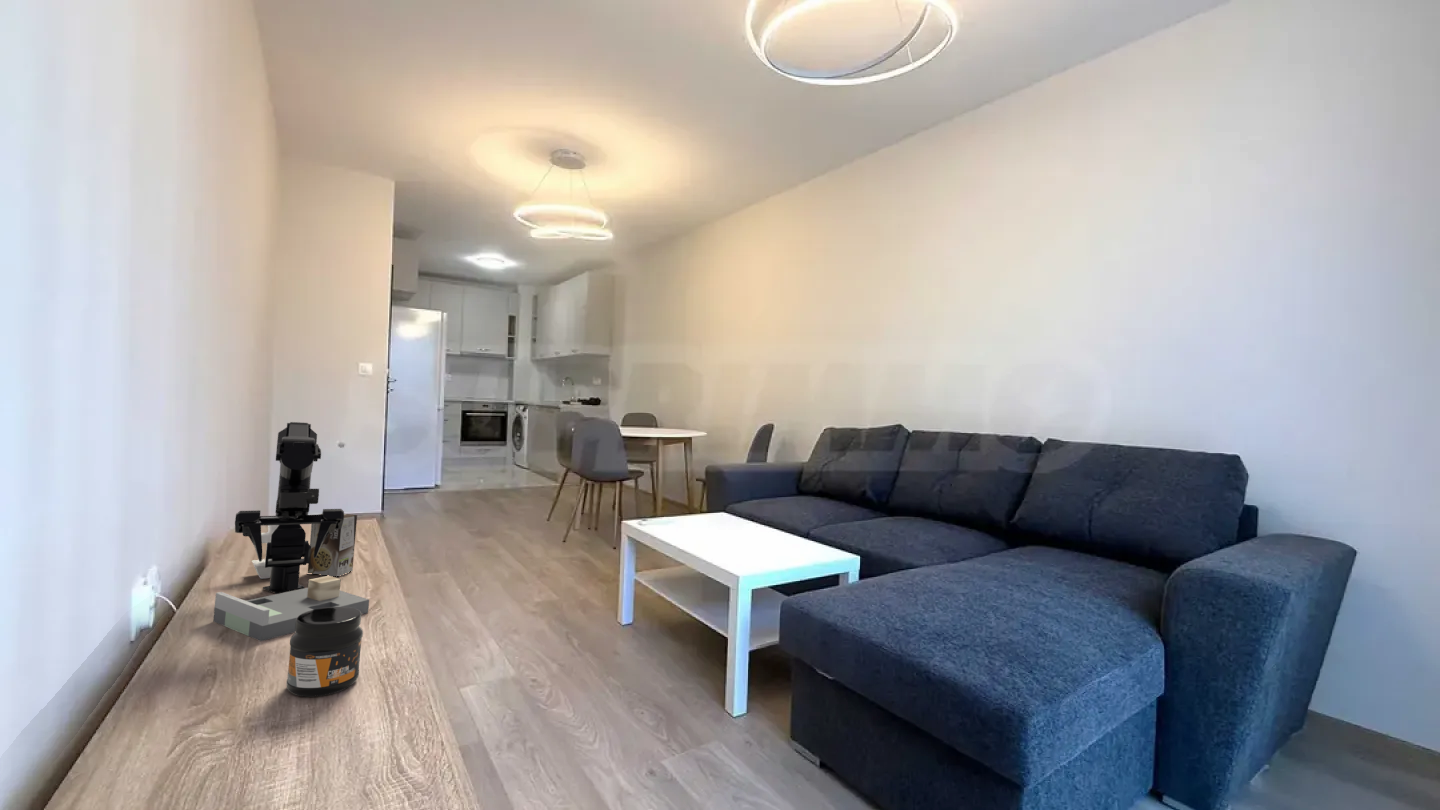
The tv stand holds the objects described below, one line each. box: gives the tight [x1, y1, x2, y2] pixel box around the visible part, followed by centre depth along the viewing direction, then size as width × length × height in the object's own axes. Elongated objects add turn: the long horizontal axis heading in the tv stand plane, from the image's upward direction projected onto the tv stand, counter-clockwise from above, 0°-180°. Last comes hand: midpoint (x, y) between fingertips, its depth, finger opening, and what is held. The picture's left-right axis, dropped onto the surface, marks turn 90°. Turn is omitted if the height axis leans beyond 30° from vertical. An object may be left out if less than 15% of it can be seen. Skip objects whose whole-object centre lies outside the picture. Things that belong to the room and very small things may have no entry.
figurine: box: [251, 525, 279, 580], centre depth 159 cm, size 7×9×15 cm
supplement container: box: [286, 607, 364, 698], centre depth 103 cm, size 10×10×12 cm
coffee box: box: [307, 513, 358, 578], centre depth 165 cm, size 9×6×16 cm
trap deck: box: [212, 587, 370, 642], centre depth 132 cm, size 18×22×6 cm
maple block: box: [307, 576, 341, 601], centre depth 137 cm, size 4×4×4 cm
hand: (288, 559), depth 124 cm, fingers open, 9 cm apart
